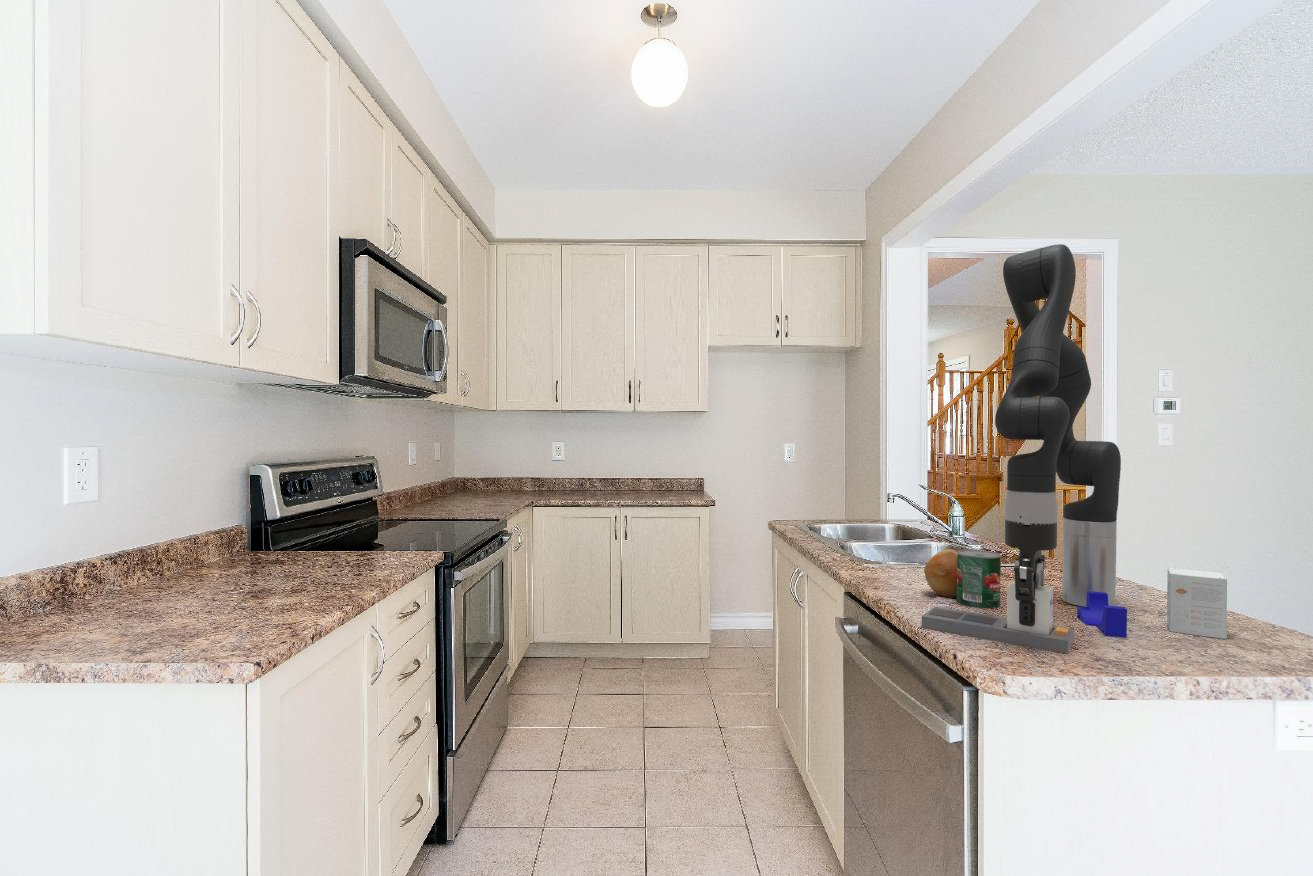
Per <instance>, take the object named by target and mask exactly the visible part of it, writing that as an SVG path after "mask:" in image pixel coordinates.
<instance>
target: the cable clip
mask: <svg viewBox="0 0 1313 876" xmlns="http://www.w3.org/2000/svg"><path fill="white" fill-rule="evenodd" d="M1076 619H1079V620H1080V621H1081V622H1082V623H1083V624H1084V625H1085V626H1091V627H1096V628H1097V629H1098V630H1099V631H1100V632H1101V633H1103V634H1104V636H1105V637H1115V638H1126V639H1127V637H1128V636H1127V635H1128V632H1127V631H1128V609H1127V608H1126V607H1125V606H1120V605H1119V606H1117V605H1115V606H1109V605H1108V594H1107V593H1106V592H1092V591H1087V603H1086V607H1084V606H1076Z"/></svg>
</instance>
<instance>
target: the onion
mask: <svg viewBox="0 0 1313 876" xmlns="http://www.w3.org/2000/svg"><path fill="white" fill-rule="evenodd" d="M957 552H958V551H957V549H956V550H955V549H954V548H953V549H951V548H947V549H945V550H941V551H938V552H937V553H935V554H934V555H933V556H932V557H931V558H930V559H928V561H927V562H926V564H925V566H924V569H923V571H924V572H923V573H924V577H925V580H926V582H927V584H928V587H930V588H931V590H933V592H935V593H937V594H938V595H941V597H942V596H943V597H945V598H949V599H953V598H957V556H958V554H957Z"/></svg>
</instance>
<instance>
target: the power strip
mask: <svg viewBox="0 0 1313 876" xmlns="http://www.w3.org/2000/svg"><path fill="white" fill-rule="evenodd" d="M921 628H922V629H926V630H932V631H938V632H943V633H949V634H955V635H959V636H965V637H971V638H976V639H977V638H978V639H983V640H986V641H987V640H988V641H992V642H993V641H994V642H999V643H1004V644H1011V645H1016V646H1021V647H1028V648H1033V649H1037V650H1043V651H1049V652H1053V653H1054V652H1055V653H1061V654H1065V655H1066V654H1067V655H1068V654H1069V653H1070V651H1071V649H1072V647H1073V645H1074V642H1075V628H1072V627H1067V626H1065V627H1064V626H1059V625H1053V630H1052V633H1051V635H1044V634H1038V633H1032V632H1026V631H1020V630H1014V629H1008V628H1007V617H1004V616H999V615H997V616H996V615H992V614H991V615H990V614H983V613H979V612H977V613H976V612H974V611H973V612H972V611H965V610H958V609H952V608H948V607H947V608H946V607H941V606H933V607H932V608H930V609H929V610H928V611H927V612H925V613H924V614H922V615H921Z"/></svg>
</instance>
